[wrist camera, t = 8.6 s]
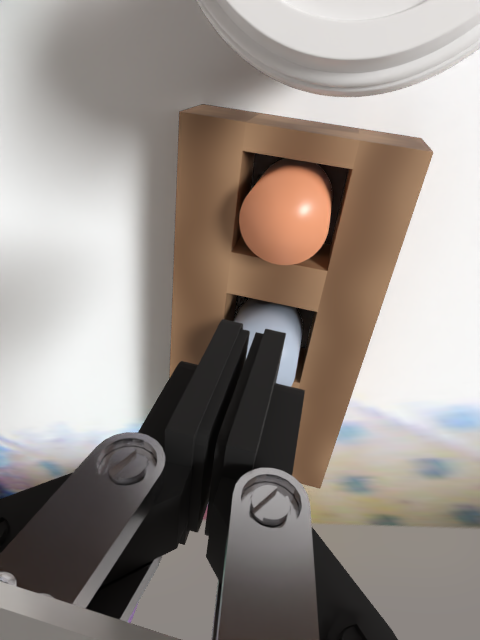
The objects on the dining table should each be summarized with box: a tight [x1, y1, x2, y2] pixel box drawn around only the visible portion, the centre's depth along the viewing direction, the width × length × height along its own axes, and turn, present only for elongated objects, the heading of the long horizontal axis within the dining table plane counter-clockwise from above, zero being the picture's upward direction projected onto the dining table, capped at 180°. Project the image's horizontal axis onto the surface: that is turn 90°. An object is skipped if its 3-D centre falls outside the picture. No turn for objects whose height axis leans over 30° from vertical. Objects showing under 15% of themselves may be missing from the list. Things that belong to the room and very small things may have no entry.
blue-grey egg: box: [234, 298, 303, 387], centre depth 26 cm, size 4×4×5 cm
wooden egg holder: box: [170, 104, 433, 488], centre depth 28 cm, size 12×24×4 cm, turn 173°
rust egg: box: [239, 158, 333, 265], centre depth 23 cm, size 4×4×5 cm
